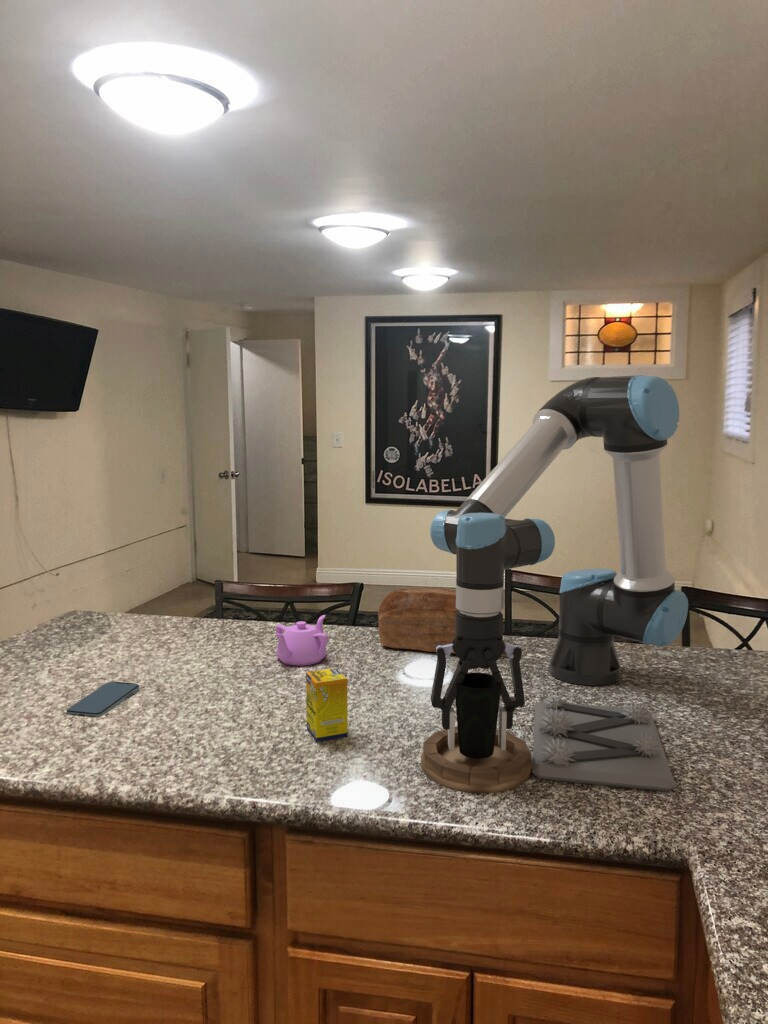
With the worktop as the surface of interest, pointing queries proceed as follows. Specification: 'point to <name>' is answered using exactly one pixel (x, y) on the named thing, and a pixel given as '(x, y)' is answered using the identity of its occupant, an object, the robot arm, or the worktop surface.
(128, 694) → the smartphone
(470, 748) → the cup
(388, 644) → the bread
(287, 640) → the teapot
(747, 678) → the worktop surface
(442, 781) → the round tray
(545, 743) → the grey board with spikes
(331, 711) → the supplement box
